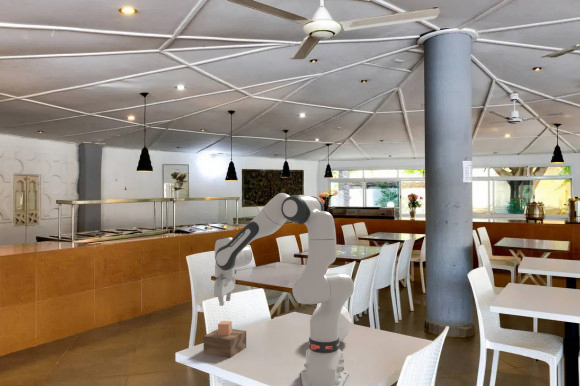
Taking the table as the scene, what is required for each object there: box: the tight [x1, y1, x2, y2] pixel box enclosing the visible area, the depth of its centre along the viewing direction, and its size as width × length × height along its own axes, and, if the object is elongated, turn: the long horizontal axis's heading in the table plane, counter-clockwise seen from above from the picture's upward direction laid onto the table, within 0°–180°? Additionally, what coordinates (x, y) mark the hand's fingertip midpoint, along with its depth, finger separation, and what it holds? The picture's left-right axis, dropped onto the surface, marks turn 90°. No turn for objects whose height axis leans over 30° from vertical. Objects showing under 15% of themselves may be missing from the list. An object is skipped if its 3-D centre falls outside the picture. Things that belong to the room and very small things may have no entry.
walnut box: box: [203, 328, 247, 359], centre depth 196 cm, size 14×14×8 cm
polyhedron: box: [312, 303, 353, 343], centre depth 207 cm, size 19×20×20 cm
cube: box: [217, 320, 233, 336], centre depth 196 cm, size 5×5×5 cm
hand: (225, 303), depth 196 cm, fingers open, 8 cm apart
